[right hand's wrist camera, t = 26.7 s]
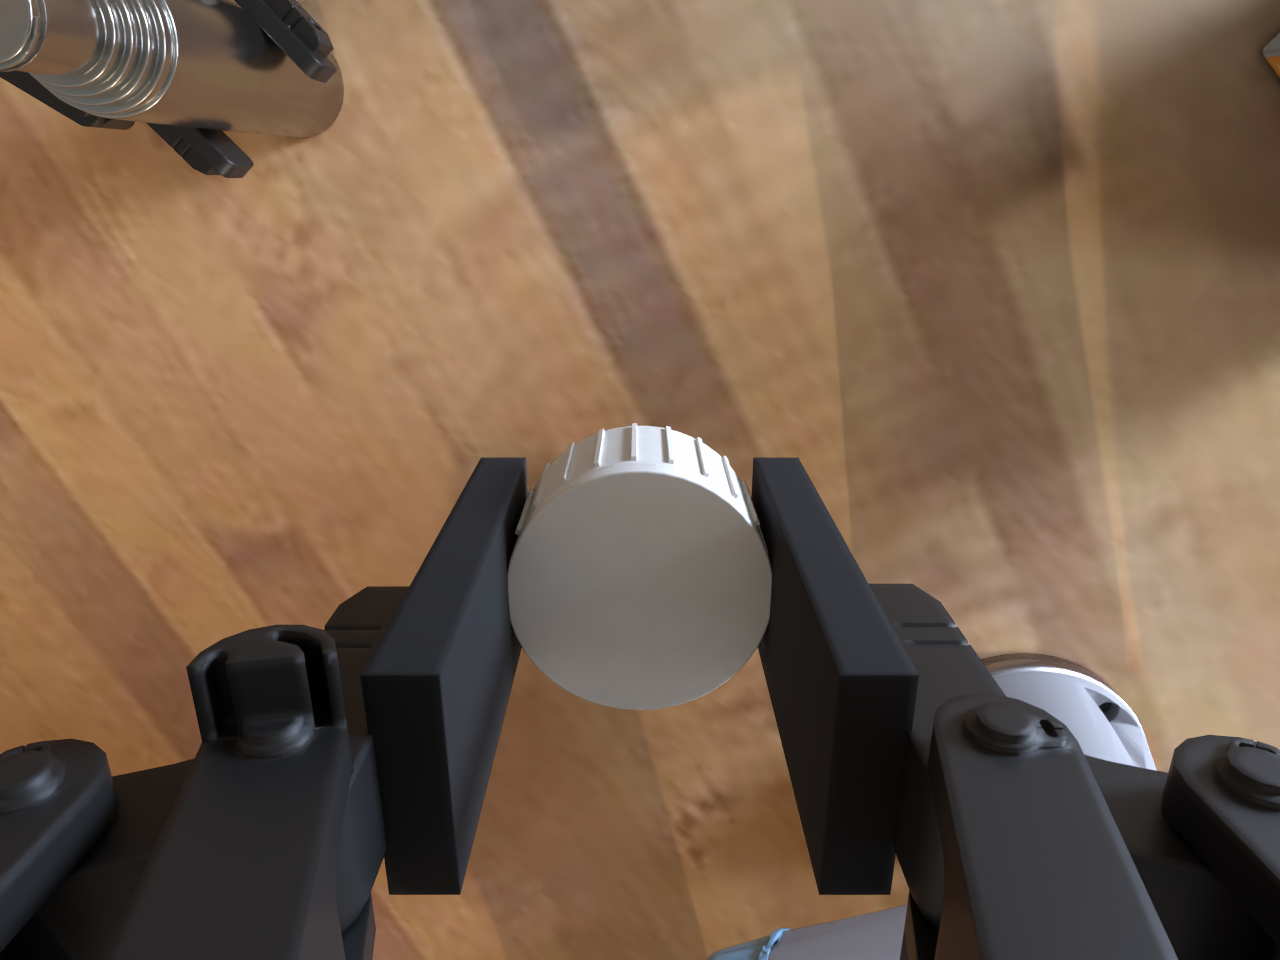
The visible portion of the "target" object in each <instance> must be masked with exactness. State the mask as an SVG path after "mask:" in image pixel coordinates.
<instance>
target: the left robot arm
mask: <svg viewBox="0 0 1280 960" xmlns="http://www.w3.org/2000/svg"><path fill="white" fill-rule="evenodd" d="M235 1H236V2H237V3H238V4H239V5H240V6H241V7H242V9H243V10H244V11H245V12H247V13H248V14H249V15H250V16H251V17H252V18H253V19H254V21H255V22H256V23H257V24H258V25H259V26H260V27H261V28H262V29H263V31H264V32H265V33H266V34H267V35H268V36H269V37H270V38H271V39H272V40H273V41H274V42H275V43H276V44H277V45H278V46H279V47H280V48H281V49H282V50H283V51H284V53H285V54H286V55H287V56H288V57H289V58H290V59H291V60H292V61H293V62H294V63H295V64H296V65H297V66H298V67H299V68H300V69H301V70H302V71H303V72H304V73H305V74H306V75H307V76H309V77H310V78H311V79H313V80H316V81H320V82H323V83H326V82H327V81H328V80H329V79H330V78H331V77H332V76H333V74H334V73H335V72H336V71H337V68H336V67H335V65H334V64H333V63H332V62H331V61H330V60H329V59H328V58H327V56H328V55H329V53H330V52H331V51H332V50H333V49H334V48H333V46H332V43H331V41H330V39H329V37H328V35H327V33H326V32H325V31H324V30H323V29H322V28H321V27H320V26H319V25H318V24H317V23H316V22H315V20H314V19H313V18H312V17H311V16H310V15H309V14H308V13H307V12H306V11H305V10H304V9H303V8H302V6H301V5H300V4H299V3H298V2H297V1H296V0H235ZM0 77H1V78H3V79H4V80H6V81H8V82H9V83H11V84H13V85H14V86H16V87H18V88H20V89H21V90H23V91H25V92H26V93H28V94H30V95H31V96H33V97H35V98H36V99H38V100H40V101H41V102H43V103H45V104H46V105H48V106H50V107H51V108H53V109H55V110H56V111H58V112H60V113H61V114H63V115H65V116H66V117H68V118H70V119H71V120H73V121H75V122H76V123H78V124H80V125H82V126H87V127H99V128H110V129H122V130H125V129H129V128H131V127H132V126H133V125H134V123H135V121H128V120H118V119H109V118H103V117H98V116H95V115H91V114H88V113H86V112H84V111H82V110H79V109H77V108H75V107H73V106H70V105H69V104H67V103H65V102H63V101H62V100H60V99H59V98H57V97H56V96H55V95H53V94H52V93H51V92H50V91H49V90H47V89H46V88H45V87H44V86H43V85H42V84H41V83H39V82H38V81H37V80H36V79H35V78H34V77H33V76H31V75H30V74H29V73H28V72H23V71H17V70H14V71H9V72H4V71H0ZM146 123H147V122H146ZM147 124H148V125H149V126H150V127H151V128H152V129H153V130H154V131H155V132H156V133H158V134H159V135H160V136H161V137H162V138H163V139H164V140H165V141H166V142H167V143H168V144H169V145H170V146H171V147H172V148H173V149H174V150H175V151H176V152H177V153H178V154H179V155H180V156H182V157H183V159H184V160H185V161H186V162H187V163H188V164H189V165H190V166H191V167H192V168H193V169H195V170H197V171H200V172H202V173H204V174H206V175H222V176H224V177H226V178H242V177H243V176H244V175H245V174H246V173H247V172H248V171H249V170H250V168H251V167H252V166H253V162H252V161H251V159H250V158H249V157H248V156H247V155H246V154H245V153H244V152H243V151H242V150H241V149H240V148H239V147H238V146H237V145H236V144H235V143H234V142H233V141H232V140H231V139H230V138H229V137H228V136H227V135H226V134H225V133H224V132H223V131H222V130H213V129H204V128H194V127H185V126H175V125H166V124H156V123H147Z"/></svg>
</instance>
